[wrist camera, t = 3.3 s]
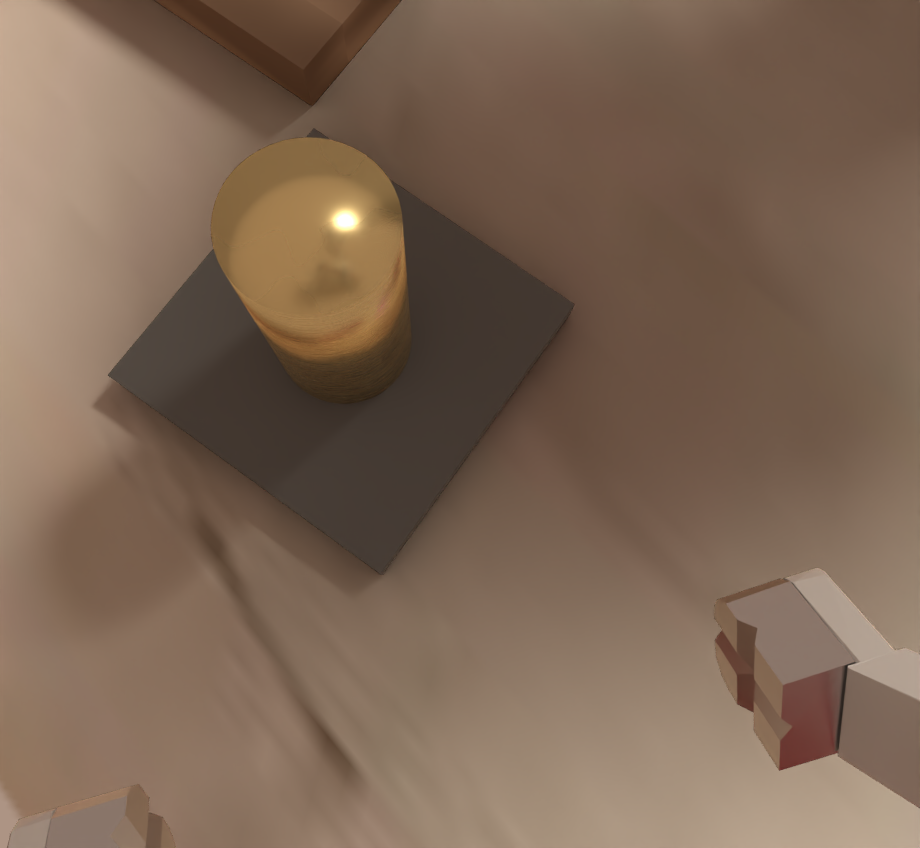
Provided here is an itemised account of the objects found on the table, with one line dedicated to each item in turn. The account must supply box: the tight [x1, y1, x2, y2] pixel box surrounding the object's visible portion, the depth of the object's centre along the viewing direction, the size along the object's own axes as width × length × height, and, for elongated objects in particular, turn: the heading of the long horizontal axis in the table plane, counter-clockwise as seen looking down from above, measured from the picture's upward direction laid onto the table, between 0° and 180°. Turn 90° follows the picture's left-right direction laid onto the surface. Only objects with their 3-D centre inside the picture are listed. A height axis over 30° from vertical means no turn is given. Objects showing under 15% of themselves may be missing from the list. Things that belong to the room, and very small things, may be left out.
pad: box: [108, 129, 574, 575], centre depth 26 cm, size 10×10×1 cm
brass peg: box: [211, 137, 412, 404], centre depth 22 cm, size 4×4×8 cm
